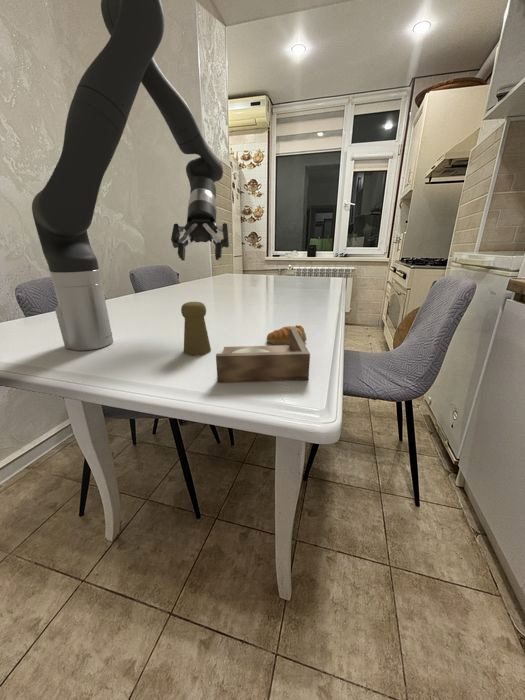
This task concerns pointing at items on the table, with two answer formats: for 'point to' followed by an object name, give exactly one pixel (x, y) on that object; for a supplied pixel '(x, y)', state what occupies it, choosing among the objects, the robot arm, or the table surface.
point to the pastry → (285, 335)
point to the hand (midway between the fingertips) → (199, 258)
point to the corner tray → (264, 362)
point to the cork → (195, 329)
